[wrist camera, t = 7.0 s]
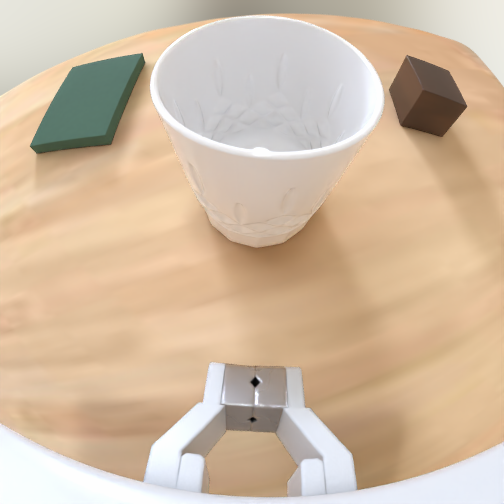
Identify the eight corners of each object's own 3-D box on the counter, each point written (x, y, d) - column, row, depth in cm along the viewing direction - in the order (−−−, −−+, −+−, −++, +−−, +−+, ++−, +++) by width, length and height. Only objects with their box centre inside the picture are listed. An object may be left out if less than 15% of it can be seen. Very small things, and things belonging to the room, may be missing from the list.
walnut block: (400, 125, 20) (423, 89, 16) (388, 89, 21) (406, 54, 17) (442, 137, 20) (467, 106, 16) (428, 101, 21) (448, 70, 17)
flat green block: (36, 153, 19) (29, 146, 18) (76, 75, 21) (72, 67, 20) (111, 144, 19) (105, 135, 18) (145, 62, 21) (142, 53, 20)
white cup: (343, 227, 17) (427, 125, 8) (222, 280, 16) (190, 203, 7) (286, 130, 19) (309, 7, 10) (177, 168, 18) (133, 45, 9)
